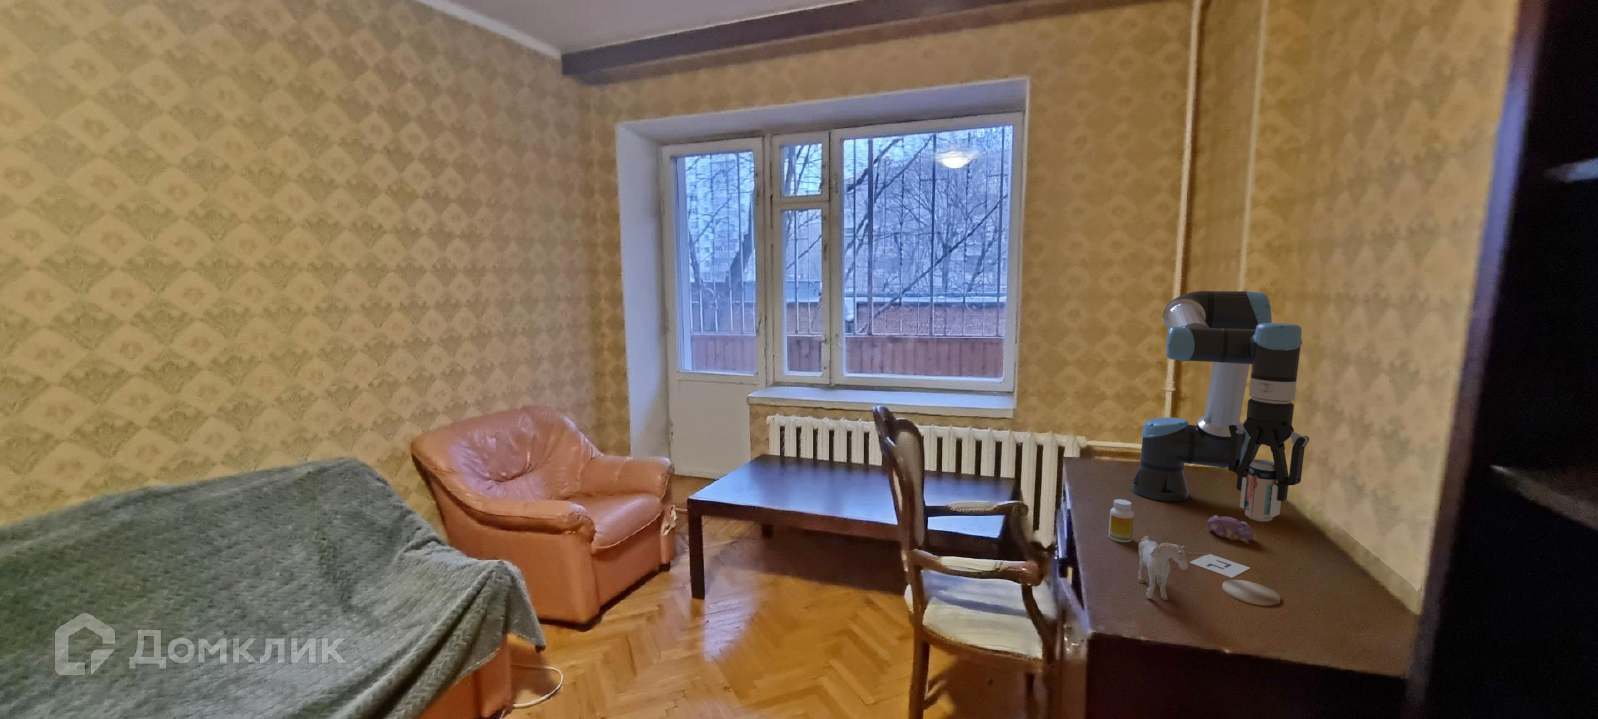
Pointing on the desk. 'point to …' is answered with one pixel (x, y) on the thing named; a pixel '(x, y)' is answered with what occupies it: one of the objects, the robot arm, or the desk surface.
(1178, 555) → the unicorn figurine
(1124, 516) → the supplement bottle
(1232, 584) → the cork coaster
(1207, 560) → the tile
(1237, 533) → the video game controller
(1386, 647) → the desk surface
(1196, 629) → the desk surface
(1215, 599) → the desk surface
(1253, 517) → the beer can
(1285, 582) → the desk surface
